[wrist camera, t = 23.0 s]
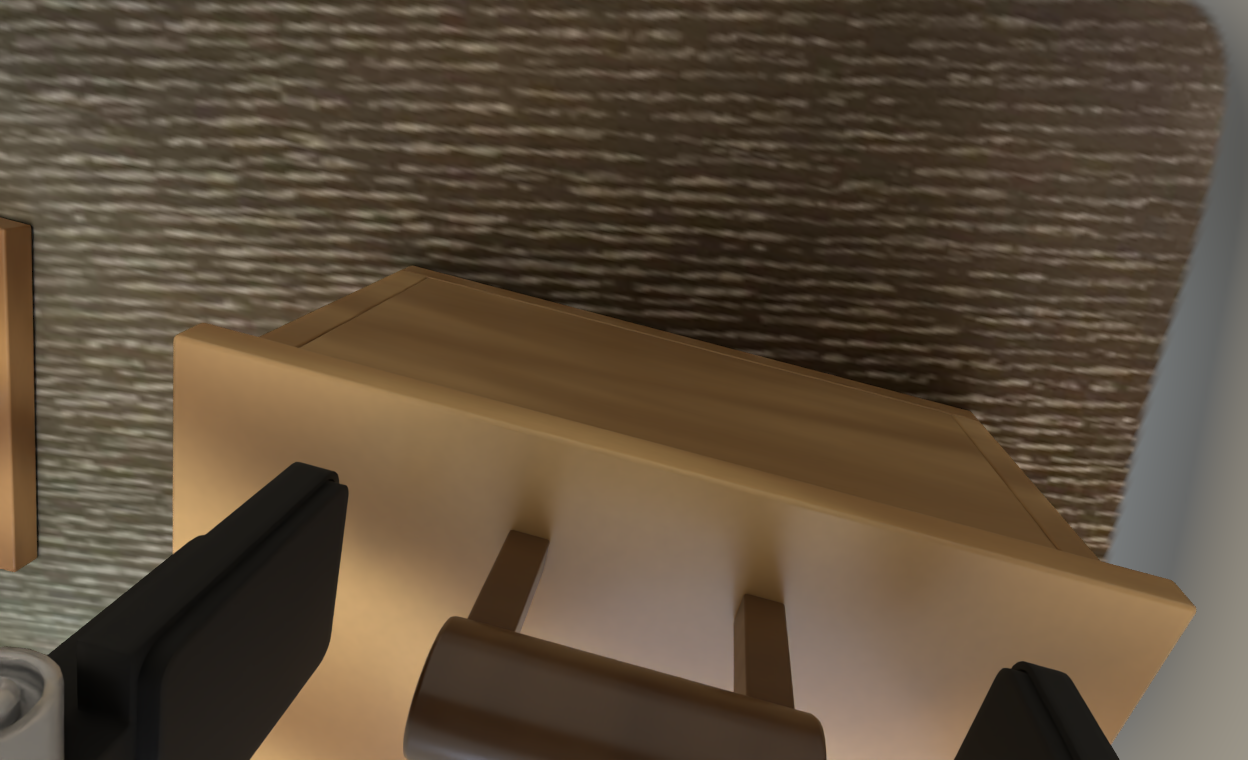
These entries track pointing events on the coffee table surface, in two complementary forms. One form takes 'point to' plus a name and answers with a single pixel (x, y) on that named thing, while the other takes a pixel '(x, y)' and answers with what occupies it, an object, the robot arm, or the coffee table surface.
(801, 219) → the coffee table surface
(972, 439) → the chest
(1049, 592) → the lid
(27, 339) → the trivet
